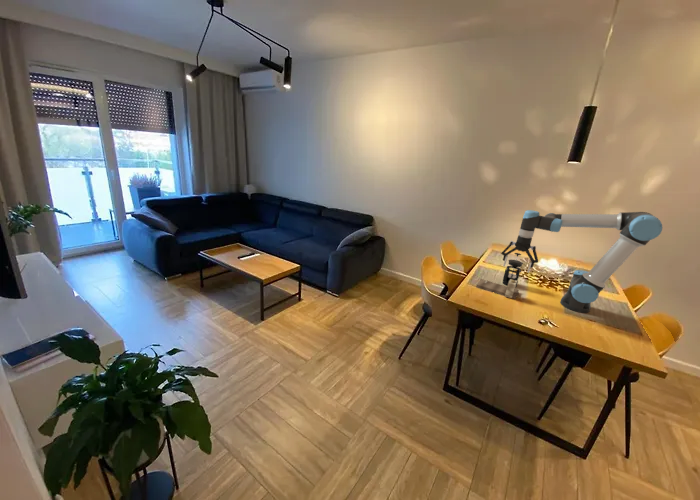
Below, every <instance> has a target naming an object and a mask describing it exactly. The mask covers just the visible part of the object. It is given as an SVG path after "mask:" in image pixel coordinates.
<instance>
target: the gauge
mask: <svg viewBox="0 0 700 500" xmlns="http://www.w3.org/2000/svg"><path fill="white" fill-rule="evenodd" d="M517 281H518V280H517ZM517 281H516V280H512V279H510V281H509V283H508V286H507V290H506V293H505V296H504V297H506V298H510V299H513V298H512V296H513V293H514V291H515V289H516V288H517V287H516V283H517ZM517 284H518V283H517Z"/></svg>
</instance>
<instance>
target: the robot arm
mask: <svg viewBox="0 0 700 500" xmlns="http://www.w3.org/2000/svg"><path fill="white" fill-rule="evenodd" d="M522 216H523V217H522V219H521V224H520V228H519V230H518V236H517V238H516V242H514V241H512V240H511V241H510V242H509V244H508V246H507V247H506V248H505V249H504V250H502V252H501V255H503V259H502V261H503V265H502V267H506V264H507V260H508V256H509V255H510V254H512V253H513V252H515V251H516V250H517V251H519V252H524V253H526V255H527V256H528V258H529V260H530V262H529V266H528V268H527V273H530V269H532V268H533V267H534V264H538V263H539V258H538V254H537V251H536V249H537V246H536V245H531V243H532V239H533V237H534V234H535V231H536V230H535V229H537V230H542V231H543V230H544V231H548V232H551V233H552V232H554V233H559V232H560V231H561V229H562V227H563V228H590V229H591V228H596V229H599V228H600V229H616V230H617V231H619V238H618V239H617V240H616V242H615V243H614V244H613V245H611V247H610V248H609V249H608V250H607V252H605V253H604V255H603V256H602V257H601V258H600V259H599V260H598V261H597V262H596V264H595V265H593V267H592V268H591V269H590V270H589V271H586V270H581V269H577V270H574V272H573V274H572V278H571V280H570V283H569V286H568V289H567V292H566V293H565V294H564V295H563V296H562V297H561V299H560V301H559V302H560V304H561V306H563V308H566V309H568V310H571V311H573V312H577V313H581V314H582V313H585V314H587V313H590V311H591V306H592V305H591V303H594V302H595V301H596V300H597V299H598V298H599V294H600V293H601V292H603V290H604V289H605V288H606V281H608V280H609V279H610V277H612V275H614V273H615V272H616V271H617V270H618V269H619V268H620V267H621V266H622V265H623V264H624V263H625V262H626V261H627V260H628V259H629V258H630V256H632V254H634V252H636V250H637V249H638V248H639V247H645V246H646V245H647V244H649V242H650V241H651V240H655V239H656V238H657V237H659V236H660V235H661V234H662V231H663V224H662V221H661V220H660V219H659V218H658V217H656V216H655V215H653V214H652V213H649V212H646V211H632V212H631V211H629V212H628V211H627V212H623V211H622V212H621V211H620V212H618V213H617V214H616V213H615V214H610V213H608V214H607V213H604V214H602V213H599V214H598V213H595V214H594V213H586V214H585V213H581V214H580V213H579V214H577V213H553V212H550V213H547V214H545V215H544V216H543V215H540V211H537V210H533V209H528V210H525V211H524V214H523V215H522ZM512 246H514V247H513V248H511V247H512ZM510 248H511V250H509V249H510ZM530 249H531V250H532V253H533V255H532V254H531V252H530Z"/></svg>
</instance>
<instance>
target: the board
mask: <svg viewBox="0 0 700 500" xmlns="http://www.w3.org/2000/svg"><path fill="white" fill-rule="evenodd" d="M475 287H476V288H477V289H481V290H484V291H487V292H490V293H493V292H494V293H495V294H496V293H497V294H496V295H500V296H504V297H505V293H506V290H507V286H506V285H504V284H499V283H496V282H493V281H490V280H486V279H482V278H481V279H480V280H479V281H478V282H477V283H476V285H475ZM519 291H520V290H519V289H517V288H515V291H514V293H513V296H512V298H511V299H514V300H516V298H517V297H518V294H519Z"/></svg>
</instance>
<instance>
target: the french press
mask: <svg viewBox="0 0 700 500" xmlns="http://www.w3.org/2000/svg"><path fill="white" fill-rule="evenodd" d="M514 255H515V256H516V258H515V259H507V260H508V266H506V268H505V271H504V273H503V277H502V283H501V284H502V285H504V286H508V283H509V281H510V279H512V280H516V281H517V283H516V287H515V288H517V287H518V283H519V278H520V276H519V275H520V273H521V272H522V269H521V268H522V266H523V265H524V262H522V261H520V260H518V257H519V256H521V255H522V253H519V252H514ZM511 268H512V269H513V270H512V269H511ZM515 269H516V270H515ZM514 273H515V274H514Z"/></svg>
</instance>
